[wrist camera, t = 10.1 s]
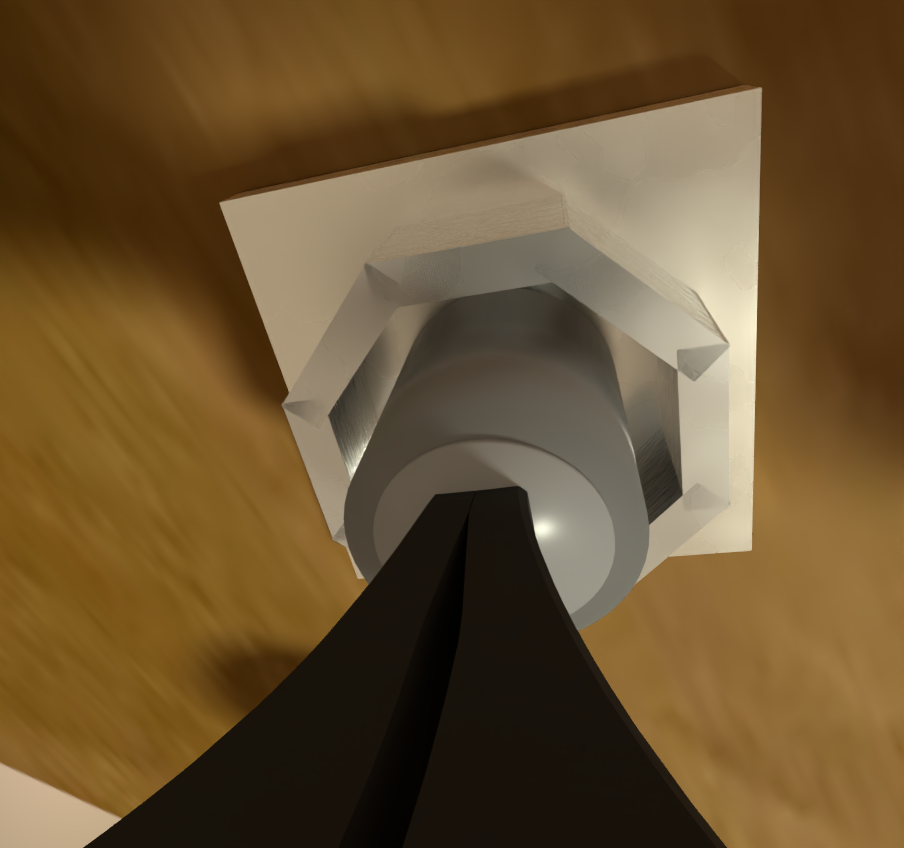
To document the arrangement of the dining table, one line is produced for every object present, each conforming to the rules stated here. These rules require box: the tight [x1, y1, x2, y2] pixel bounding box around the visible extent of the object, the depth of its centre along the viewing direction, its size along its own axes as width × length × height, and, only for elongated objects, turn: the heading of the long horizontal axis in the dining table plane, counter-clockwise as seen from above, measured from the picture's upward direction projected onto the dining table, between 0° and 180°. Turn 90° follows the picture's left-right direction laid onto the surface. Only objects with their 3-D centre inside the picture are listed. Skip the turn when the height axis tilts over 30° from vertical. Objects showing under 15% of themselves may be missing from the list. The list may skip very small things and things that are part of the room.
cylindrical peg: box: [344, 288, 650, 631], centre depth 12 cm, size 5×5×5 cm
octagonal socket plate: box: [219, 85, 762, 584], centre depth 13 cm, size 10×10×4 cm
